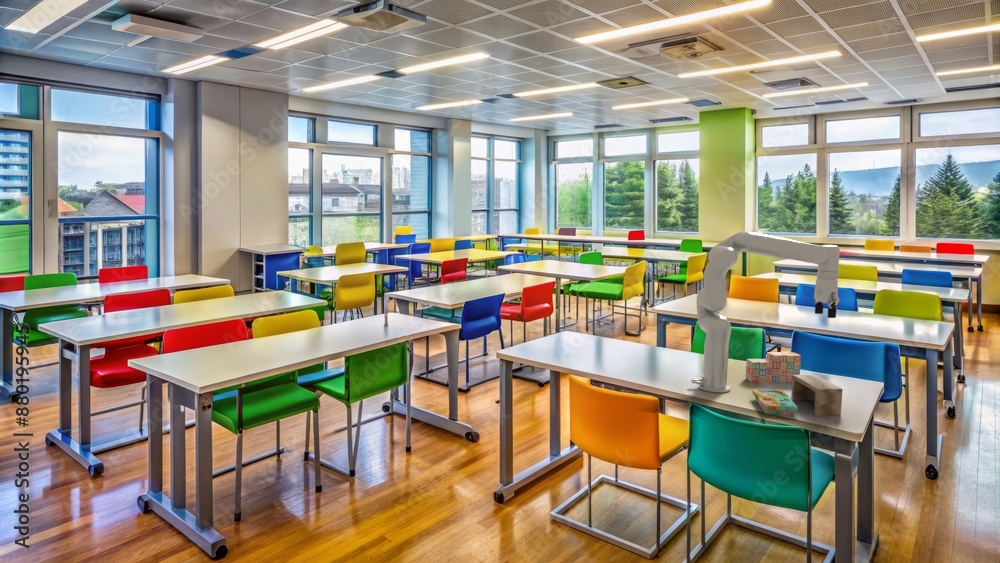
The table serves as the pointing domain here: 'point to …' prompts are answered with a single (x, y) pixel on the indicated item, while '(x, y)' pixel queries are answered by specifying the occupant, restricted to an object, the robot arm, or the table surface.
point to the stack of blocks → (774, 367)
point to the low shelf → (817, 393)
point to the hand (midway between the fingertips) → (825, 315)
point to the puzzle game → (775, 402)
